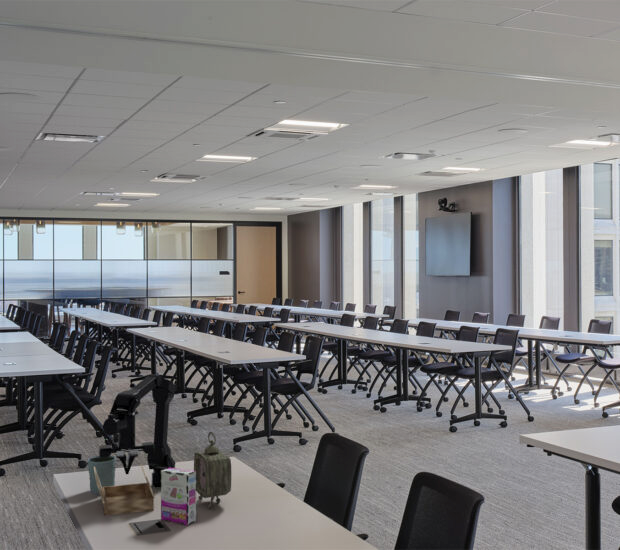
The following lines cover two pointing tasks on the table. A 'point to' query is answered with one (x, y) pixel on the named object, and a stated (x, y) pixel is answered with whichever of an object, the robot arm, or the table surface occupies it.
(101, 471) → the teal cup
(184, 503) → the candy bar box
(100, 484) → the flap
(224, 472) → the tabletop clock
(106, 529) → the table surface
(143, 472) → the flap
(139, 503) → the carton
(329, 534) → the table surface
